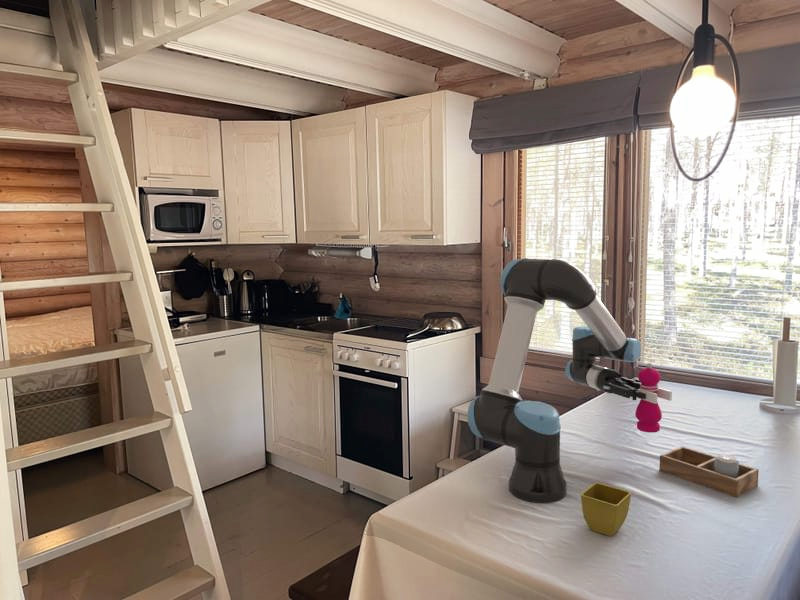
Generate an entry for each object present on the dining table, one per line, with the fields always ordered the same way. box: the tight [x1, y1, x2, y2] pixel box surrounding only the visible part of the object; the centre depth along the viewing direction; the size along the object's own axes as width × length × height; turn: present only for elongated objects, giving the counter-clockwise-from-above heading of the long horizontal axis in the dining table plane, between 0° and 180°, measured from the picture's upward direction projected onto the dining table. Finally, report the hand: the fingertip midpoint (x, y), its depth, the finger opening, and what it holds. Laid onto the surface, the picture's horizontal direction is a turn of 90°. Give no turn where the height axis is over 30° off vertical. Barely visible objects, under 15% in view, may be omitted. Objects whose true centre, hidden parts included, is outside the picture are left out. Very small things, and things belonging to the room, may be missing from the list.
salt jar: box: [714, 454, 740, 479], centre depth 158 cm, size 6×6×7 cm
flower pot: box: [580, 482, 632, 537], centre depth 139 cm, size 9×9×9 cm
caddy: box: [658, 446, 759, 498], centre depth 162 cm, size 11×21×6 cm, turn 34°
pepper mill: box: [634, 362, 663, 433], centre depth 175 cm, size 7×7×20 cm
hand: (663, 397), depth 170 cm, fingers closed on pepper mill, 5 cm apart
